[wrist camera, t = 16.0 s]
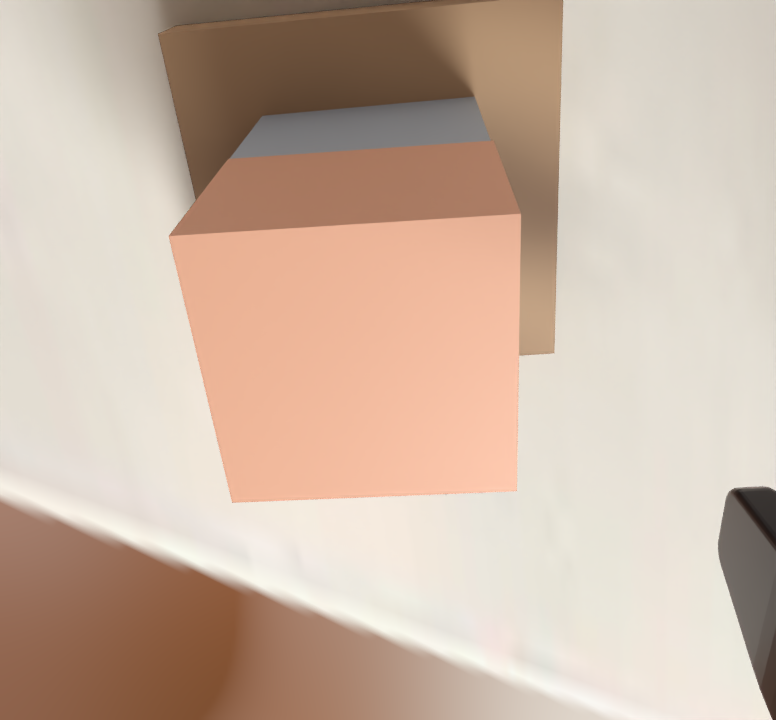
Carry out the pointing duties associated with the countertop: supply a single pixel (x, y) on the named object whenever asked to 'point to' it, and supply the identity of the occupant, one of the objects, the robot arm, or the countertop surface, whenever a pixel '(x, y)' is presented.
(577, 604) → the countertop surface
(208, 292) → the terracotta brick
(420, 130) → the slate brick
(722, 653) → the countertop surface
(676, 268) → the countertop surface
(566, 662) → the countertop surface
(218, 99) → the base plate
